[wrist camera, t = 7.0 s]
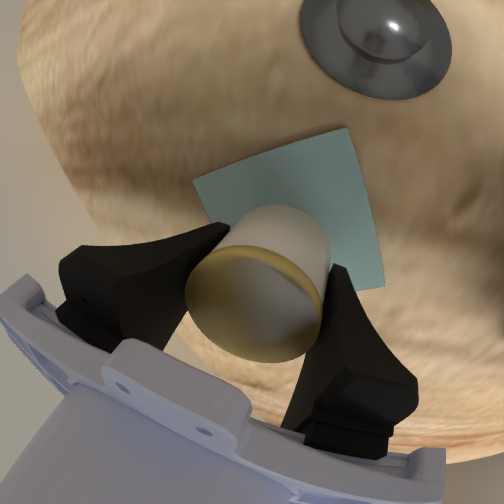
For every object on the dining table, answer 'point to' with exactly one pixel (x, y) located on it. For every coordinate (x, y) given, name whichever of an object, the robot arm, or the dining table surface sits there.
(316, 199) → the coaster
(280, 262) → the can
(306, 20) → the grey round lid
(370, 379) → the robot arm
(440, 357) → the dining table surface
